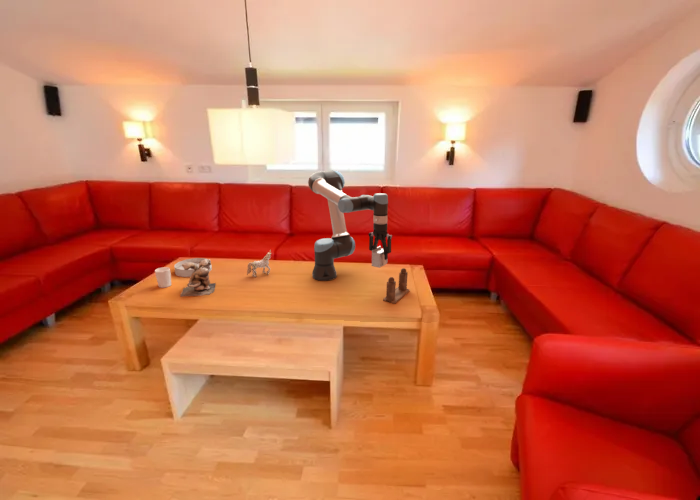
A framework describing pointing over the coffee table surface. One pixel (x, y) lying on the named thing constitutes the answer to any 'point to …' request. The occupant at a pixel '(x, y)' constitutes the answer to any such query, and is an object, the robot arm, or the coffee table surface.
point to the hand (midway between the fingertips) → (379, 263)
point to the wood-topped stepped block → (377, 257)
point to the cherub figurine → (198, 279)
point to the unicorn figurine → (259, 265)
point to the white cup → (163, 277)
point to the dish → (187, 273)
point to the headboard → (399, 292)
